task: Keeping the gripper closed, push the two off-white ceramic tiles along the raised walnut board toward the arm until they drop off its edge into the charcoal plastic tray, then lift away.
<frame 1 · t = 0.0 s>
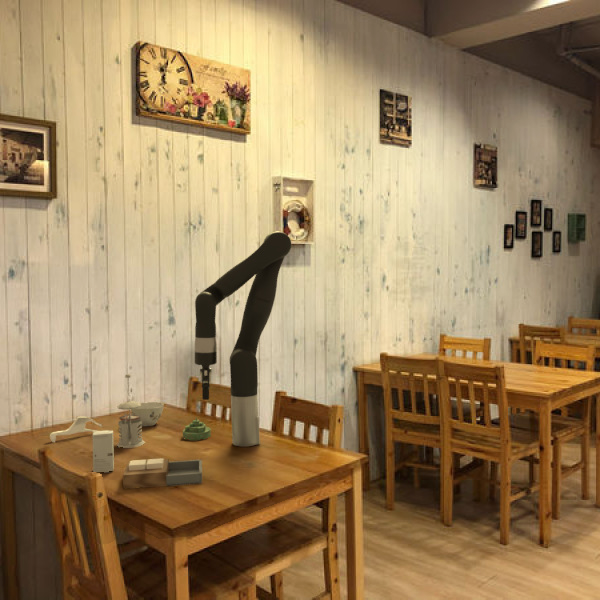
hand: (205, 396, 219), 17 cm above the table, tool pointing down, fingers open, 8 cm apart
skincare box: (104, 471, 197), on the table
board: (147, 480, 187), on the table
tile 1: (137, 467, 187), point 4 cm above the table, touching board
teacup: (146, 424, 253), on the table
white clothes hanger: (77, 438, 236), on the table
tile 2: (155, 466, 187), point 4 cm above the table, touching board
french press: (130, 445, 224), on the table
tray: (185, 477, 189), on the table
decorative artifact: (196, 437, 233), on the table
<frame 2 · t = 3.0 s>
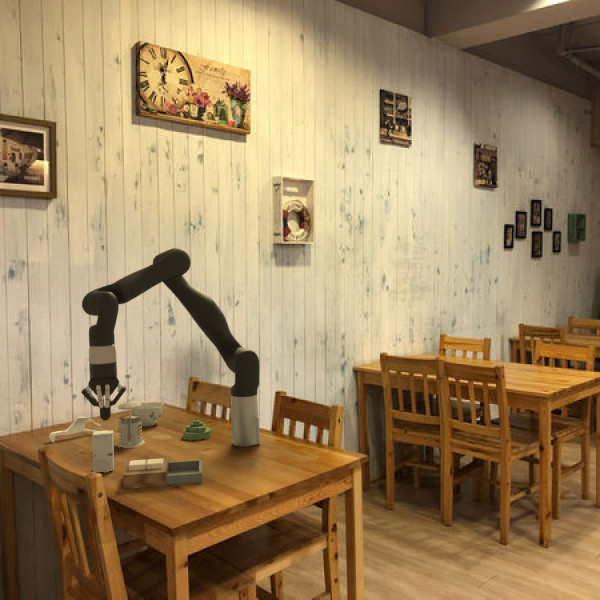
hand: (105, 419, 184), 19 cm above the table, tool pointing down, fingers closed
nothing on the table moved.
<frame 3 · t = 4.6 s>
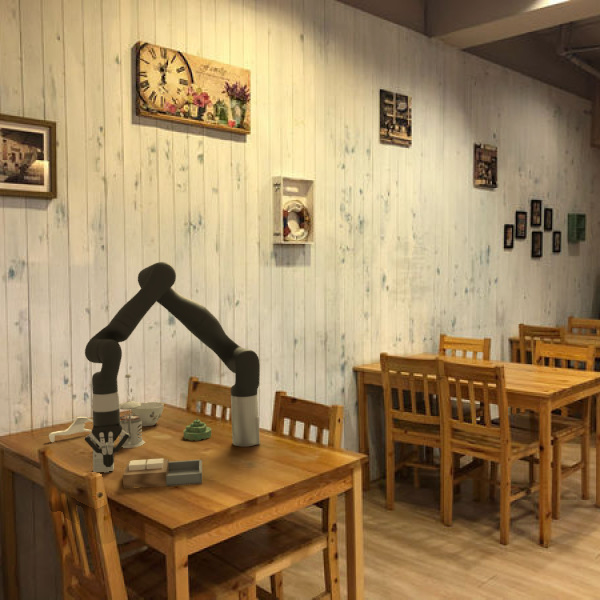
hand: (108, 466, 185), 5 cm above the table, tool pointing down, fingers closed
nothing on the table moved.
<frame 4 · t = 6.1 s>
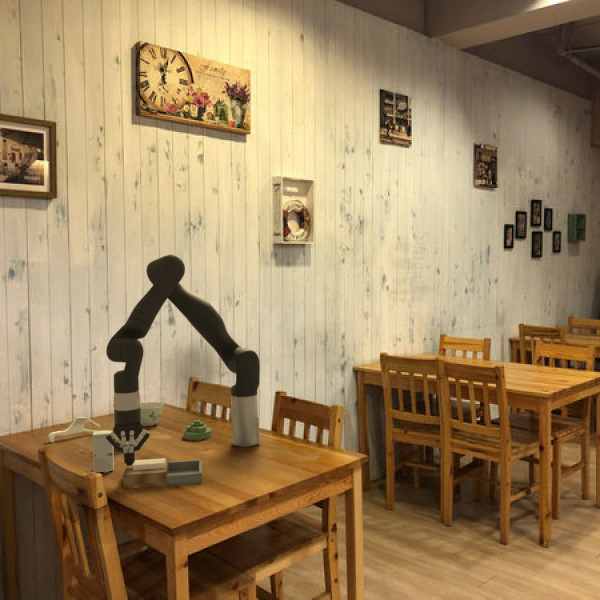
hand: (129, 464, 186), 5 cm above the table, tool pointing down, fingers closed
tile 1: (141, 467, 187), point 4 cm above the table, touching board, gripper
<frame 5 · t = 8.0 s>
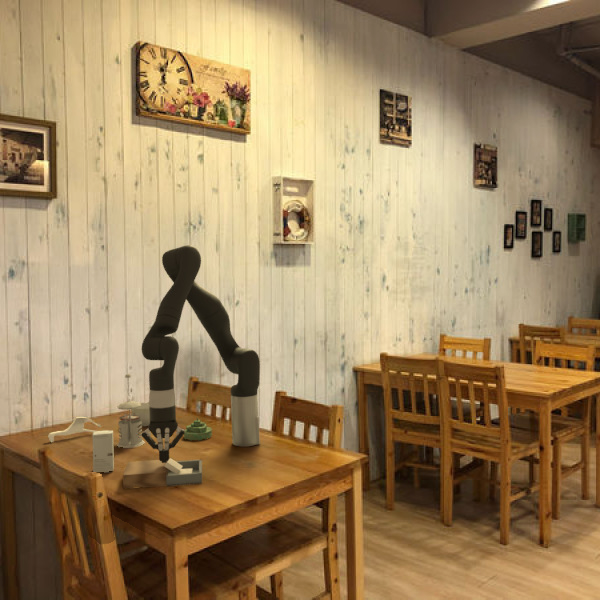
hand: (164, 462, 188), 5 cm above the table, tool pointing down, fingers closed
tile 1: (172, 468, 187), point 3 cm above the table, tilted 35°, touching gripper, tile 2
tile 2: (184, 471, 188), point 2 cm above the table, tilted 180°, touching tile 1, tray
everything else where it was.
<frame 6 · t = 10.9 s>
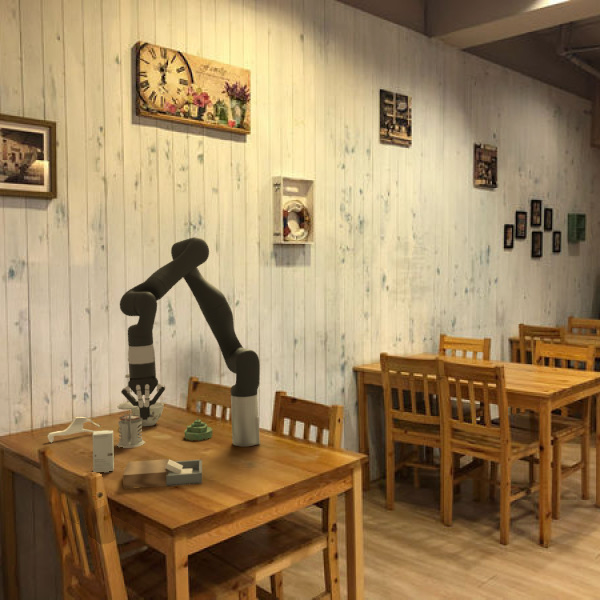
hand: (145, 419, 186), 18 cm above the table, tool pointing down, fingers closed
tile 1: (173, 469, 187), point 3 cm above the table, tilted 28°, touching board, tile 2
everything else where it was.
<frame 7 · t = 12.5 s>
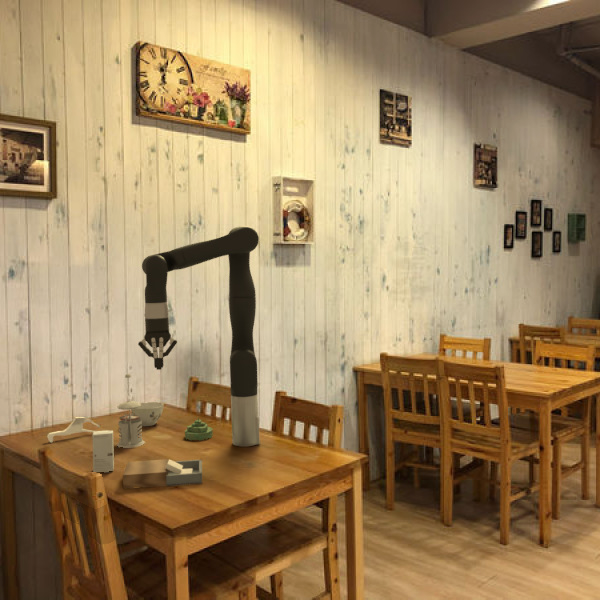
hand: (159, 369, 208), 29 cm above the table, tool pointing down, fingers closed
nothing on the table moved.
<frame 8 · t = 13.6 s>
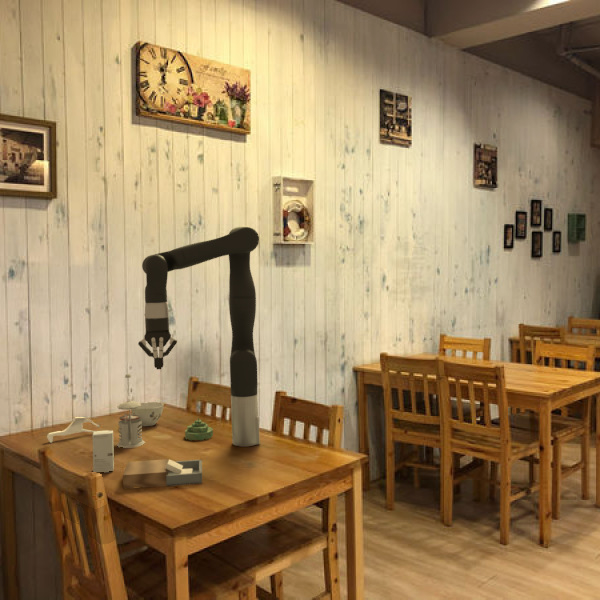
hand: (159, 368, 209), 29 cm above the table, tool pointing down, fingers closed
nothing on the table moved.
at the end: tile 1 inside the target area on the tray (3.1 cm from its centre), point 3.1 cm above the tray's base; tile 2 inside the target area on the tray (0.6 cm from its centre), point 2.0 cm above the tray's base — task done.
